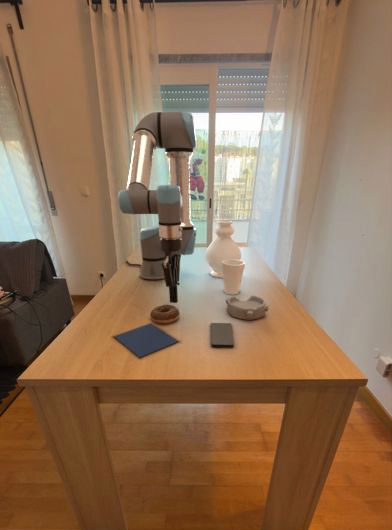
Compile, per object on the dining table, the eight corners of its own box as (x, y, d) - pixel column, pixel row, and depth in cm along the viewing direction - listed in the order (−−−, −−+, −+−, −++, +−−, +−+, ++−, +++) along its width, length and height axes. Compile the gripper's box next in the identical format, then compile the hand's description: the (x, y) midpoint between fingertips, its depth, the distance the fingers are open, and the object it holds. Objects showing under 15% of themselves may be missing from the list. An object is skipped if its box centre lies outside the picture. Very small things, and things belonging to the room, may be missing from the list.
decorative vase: (230, 267, 156) (233, 218, 143) (245, 277, 142) (250, 223, 128) (200, 270, 151) (200, 219, 138) (212, 281, 137) (213, 225, 124)
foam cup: (241, 296, 120) (244, 266, 113) (219, 295, 122) (221, 264, 115) (242, 288, 128) (245, 259, 121) (222, 287, 130) (223, 258, 123)
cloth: (113, 337, 91) (113, 336, 91) (150, 324, 99) (150, 323, 99) (139, 358, 81) (139, 357, 81) (178, 341, 89) (178, 341, 88)
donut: (181, 324, 99) (180, 314, 96) (150, 326, 97) (149, 315, 95) (178, 311, 107) (178, 301, 105) (150, 313, 106) (149, 303, 104)
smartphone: (230, 322, 98) (234, 345, 85) (230, 325, 98) (233, 347, 85) (210, 322, 98) (211, 344, 85) (210, 324, 98) (210, 347, 85)
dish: (220, 309, 109) (221, 296, 107) (251, 303, 114) (252, 291, 111) (240, 325, 98) (241, 311, 95) (273, 318, 103) (275, 305, 100)
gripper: (174, 242, 90) (177, 310, 103) (187, 234, 100) (188, 296, 113) (152, 241, 92) (158, 307, 105) (167, 233, 102) (170, 294, 115)
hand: (173, 301), depth 109 cm, fingers closed
